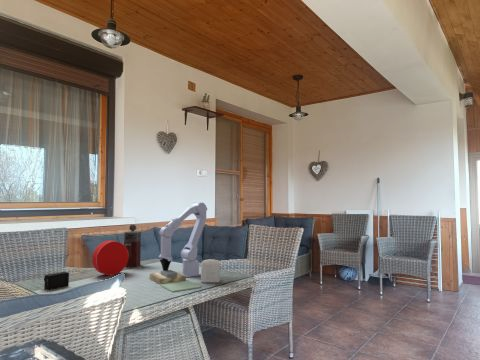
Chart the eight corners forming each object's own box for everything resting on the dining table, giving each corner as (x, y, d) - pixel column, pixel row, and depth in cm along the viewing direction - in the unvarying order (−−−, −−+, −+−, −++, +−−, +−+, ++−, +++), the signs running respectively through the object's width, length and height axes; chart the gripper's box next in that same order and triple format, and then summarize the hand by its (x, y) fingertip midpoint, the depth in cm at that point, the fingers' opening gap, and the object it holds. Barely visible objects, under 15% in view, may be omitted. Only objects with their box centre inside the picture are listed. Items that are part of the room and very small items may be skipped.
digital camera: (62, 284, 182) (63, 271, 183) (68, 285, 179) (69, 272, 180) (42, 288, 173) (43, 274, 174) (48, 290, 171) (49, 275, 171)
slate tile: (170, 273, 196) (170, 269, 196) (177, 276, 189) (177, 272, 189) (160, 274, 193) (160, 271, 193) (166, 277, 186) (167, 274, 186)
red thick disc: (123, 271, 215) (124, 239, 217) (128, 272, 211) (129, 240, 213) (91, 276, 201) (92, 241, 202) (95, 277, 197) (96, 242, 198)
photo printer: (219, 281, 192) (219, 258, 192) (219, 282, 187) (219, 260, 188) (201, 281, 191) (201, 258, 192) (200, 283, 187) (201, 260, 187)
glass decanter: (122, 267, 226) (123, 225, 228) (127, 264, 237) (128, 224, 239) (135, 267, 226) (136, 225, 228) (140, 264, 238) (141, 224, 239)
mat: (187, 281, 190) (187, 280, 190) (201, 287, 177) (201, 286, 177) (159, 285, 181) (159, 284, 181) (172, 292, 168) (172, 291, 168)
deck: (174, 275, 204) (174, 270, 204) (185, 281, 191) (185, 275, 191) (149, 279, 195) (149, 273, 195) (160, 284, 182) (160, 279, 182)
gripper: (154, 247, 200) (154, 270, 199) (164, 250, 188) (163, 275, 187) (166, 246, 204) (165, 269, 203) (176, 249, 192) (175, 273, 191)
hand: (165, 272), depth 196 cm, fingers closed
